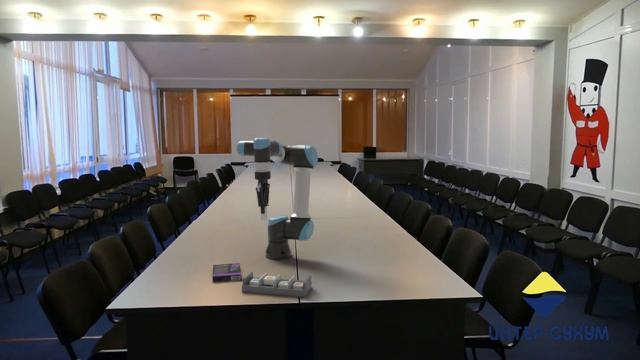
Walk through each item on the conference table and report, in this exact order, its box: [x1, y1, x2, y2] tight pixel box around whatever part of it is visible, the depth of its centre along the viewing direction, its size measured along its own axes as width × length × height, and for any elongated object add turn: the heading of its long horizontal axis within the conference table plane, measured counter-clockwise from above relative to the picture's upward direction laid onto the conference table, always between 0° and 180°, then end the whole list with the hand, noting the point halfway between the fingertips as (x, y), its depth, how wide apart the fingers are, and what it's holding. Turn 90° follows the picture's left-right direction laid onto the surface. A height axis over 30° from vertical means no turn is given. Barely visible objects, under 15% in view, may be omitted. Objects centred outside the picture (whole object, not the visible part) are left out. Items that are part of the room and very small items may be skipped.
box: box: [212, 262, 242, 283], centre depth 227 cm, size 14×4×20 cm
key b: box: [250, 278, 258, 286], centre depth 208 cm, size 4×4×3 cm
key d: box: [264, 275, 277, 285], centre depth 207 cm, size 4×4×3 cm
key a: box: [278, 281, 288, 288], centre depth 205 cm, size 4×4×3 cm
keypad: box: [241, 270, 313, 298], centre depth 206 cm, size 12×30×6 cm, turn 76°
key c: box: [293, 282, 303, 290], centre depth 203 cm, size 4×4×3 cm
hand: (264, 219), depth 213 cm, fingers closed
